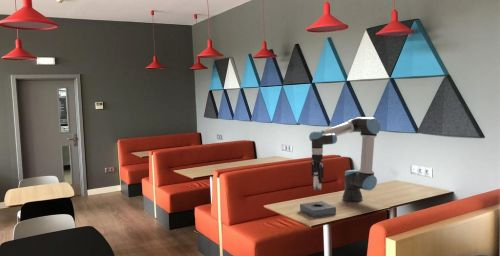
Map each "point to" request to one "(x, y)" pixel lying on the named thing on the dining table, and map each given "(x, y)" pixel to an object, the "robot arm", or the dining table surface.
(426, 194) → the dining table surface
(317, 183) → the silver metal cylinder
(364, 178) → the robot arm
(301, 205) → the flange plate
